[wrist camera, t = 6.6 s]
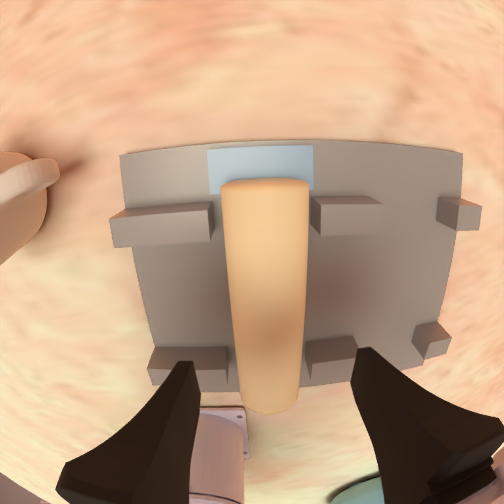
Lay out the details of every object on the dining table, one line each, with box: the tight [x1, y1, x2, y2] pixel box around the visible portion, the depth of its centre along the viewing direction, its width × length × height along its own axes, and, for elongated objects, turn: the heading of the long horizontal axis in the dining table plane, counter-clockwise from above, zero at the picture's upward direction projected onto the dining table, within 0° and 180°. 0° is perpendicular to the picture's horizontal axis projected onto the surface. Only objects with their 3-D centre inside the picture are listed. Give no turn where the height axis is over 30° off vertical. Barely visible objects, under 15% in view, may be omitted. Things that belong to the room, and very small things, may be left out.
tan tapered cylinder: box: [220, 177, 309, 415], centre depth 16 cm, size 14×4×4 cm, turn 3°
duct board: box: [109, 140, 482, 392], centre depth 18 cm, size 18×22×3 cm
